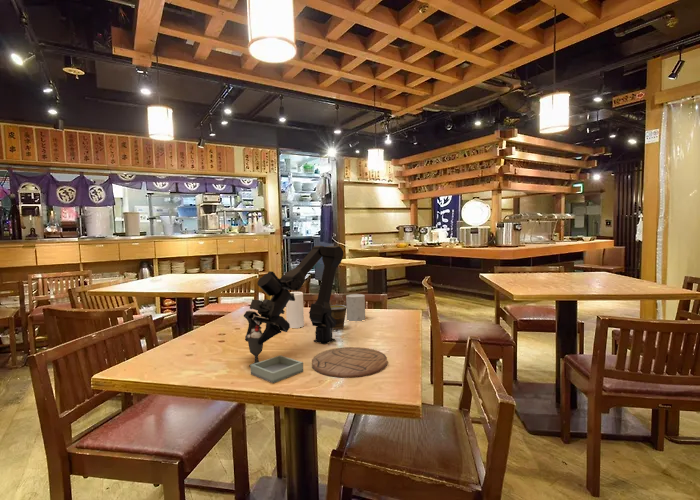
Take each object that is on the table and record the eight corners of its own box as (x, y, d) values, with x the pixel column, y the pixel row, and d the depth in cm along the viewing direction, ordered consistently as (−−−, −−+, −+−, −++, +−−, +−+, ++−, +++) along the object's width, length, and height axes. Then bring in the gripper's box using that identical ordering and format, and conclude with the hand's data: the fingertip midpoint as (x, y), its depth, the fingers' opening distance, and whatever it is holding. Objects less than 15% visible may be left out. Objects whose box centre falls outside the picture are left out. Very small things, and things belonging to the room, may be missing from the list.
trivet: (366, 384, 104) (365, 378, 104) (296, 371, 116) (296, 365, 116) (398, 357, 125) (398, 352, 125) (337, 348, 138) (336, 343, 138)
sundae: (261, 369, 117) (260, 323, 116) (242, 368, 118) (241, 323, 118) (270, 362, 123) (268, 318, 123) (252, 361, 125) (250, 318, 124)
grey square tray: (280, 363, 122) (280, 355, 122) (303, 371, 114) (303, 362, 114) (250, 374, 113) (250, 364, 113) (273, 383, 105) (272, 373, 105)
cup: (302, 328, 168) (301, 294, 168) (285, 328, 168) (283, 294, 168) (305, 324, 177) (304, 291, 176) (288, 324, 177) (287, 292, 176)
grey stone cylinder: (345, 321, 179) (344, 297, 178) (348, 317, 188) (347, 294, 188) (364, 322, 177) (363, 297, 177) (366, 317, 187) (366, 294, 186)
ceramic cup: (334, 324, 173) (333, 304, 173) (351, 327, 167) (350, 306, 167) (316, 331, 163) (315, 309, 162) (334, 334, 157) (333, 311, 157)
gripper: (247, 288, 129) (220, 325, 121) (281, 292, 117) (254, 333, 109) (265, 306, 135) (241, 342, 127) (300, 311, 124) (276, 352, 115)
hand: (252, 342), depth 119 cm, fingers closed on sundae, 7 cm apart
